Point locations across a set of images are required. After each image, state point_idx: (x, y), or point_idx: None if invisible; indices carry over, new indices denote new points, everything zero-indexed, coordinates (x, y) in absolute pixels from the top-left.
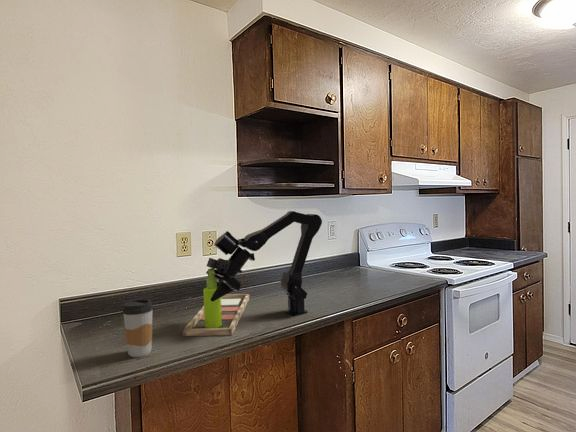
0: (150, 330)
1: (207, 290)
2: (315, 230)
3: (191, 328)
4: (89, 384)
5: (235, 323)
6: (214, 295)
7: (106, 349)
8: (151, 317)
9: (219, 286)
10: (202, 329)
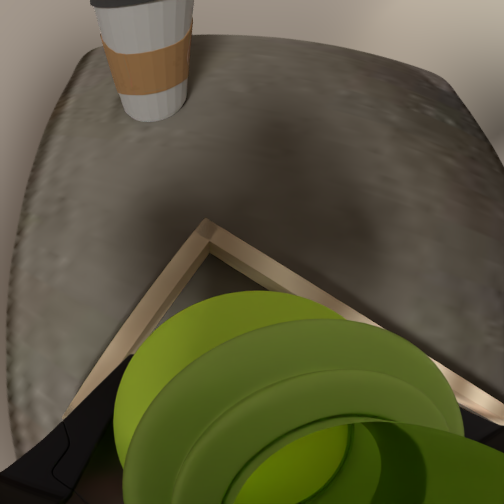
0: (111, 64)
1: (173, 325)
2: None
3: (265, 285)
4: (90, 51)
5: None
6: (97, 393)
7: (243, 63)
8: (109, 30)
9: (22, 479)
10: (145, 299)
